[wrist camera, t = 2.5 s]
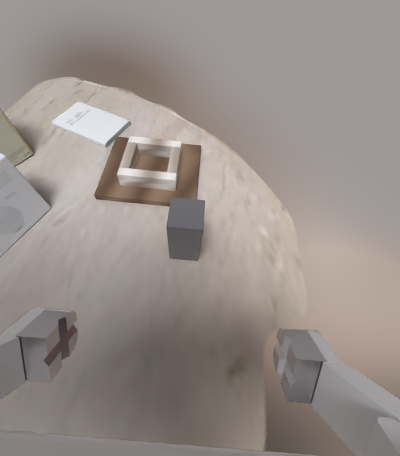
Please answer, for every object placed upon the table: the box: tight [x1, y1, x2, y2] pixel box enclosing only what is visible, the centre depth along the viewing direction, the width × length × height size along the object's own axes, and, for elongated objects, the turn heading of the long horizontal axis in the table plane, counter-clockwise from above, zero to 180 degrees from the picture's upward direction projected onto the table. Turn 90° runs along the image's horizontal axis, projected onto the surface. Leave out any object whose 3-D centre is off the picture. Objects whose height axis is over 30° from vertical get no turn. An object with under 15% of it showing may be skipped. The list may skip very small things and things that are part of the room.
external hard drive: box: [51, 102, 131, 148], centre depth 45 cm, size 2×8×12 cm
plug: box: [167, 197, 205, 261], centre depth 30 cm, size 4×4×9 cm
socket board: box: [94, 136, 201, 206], centre depth 39 cm, size 16×14×4 cm
